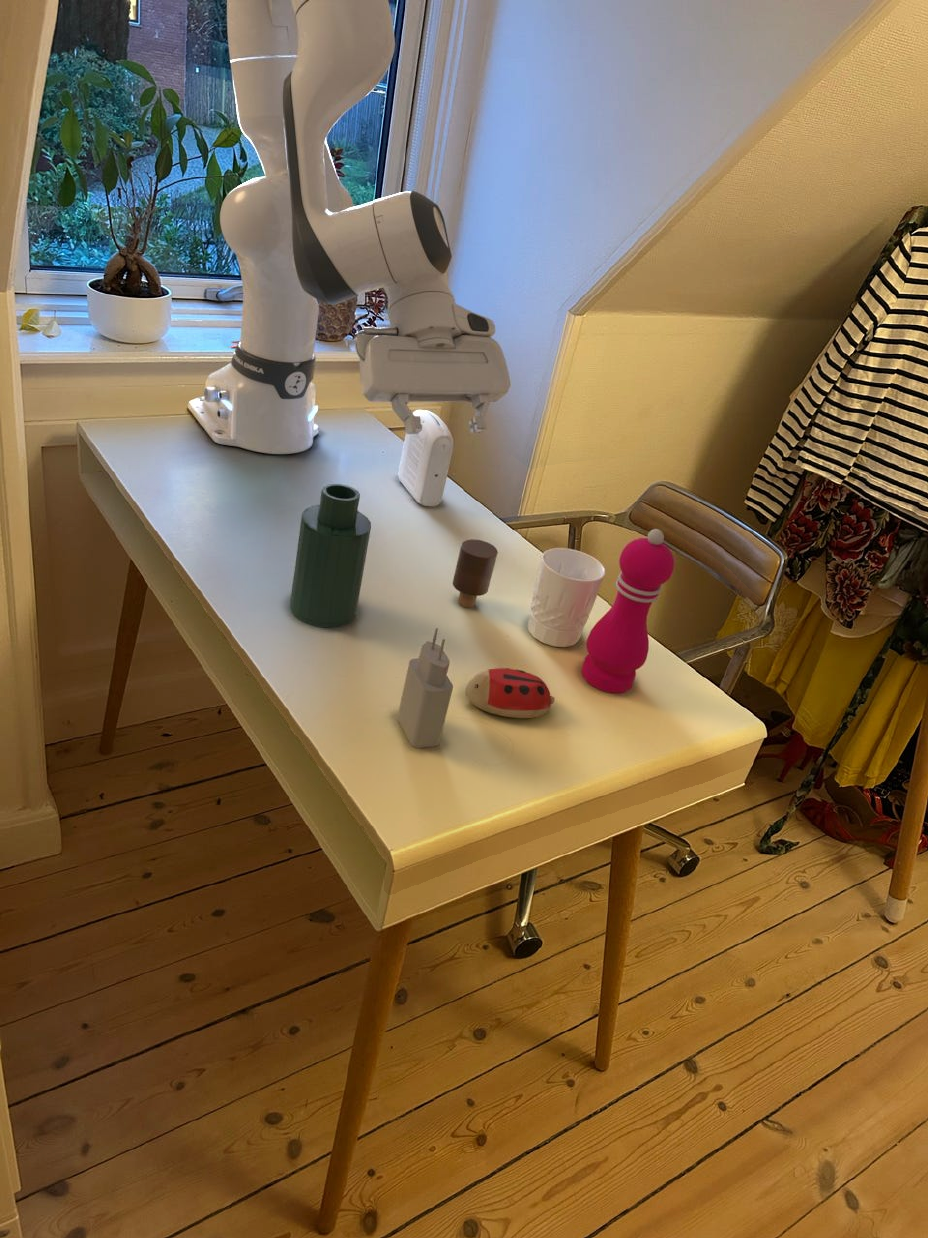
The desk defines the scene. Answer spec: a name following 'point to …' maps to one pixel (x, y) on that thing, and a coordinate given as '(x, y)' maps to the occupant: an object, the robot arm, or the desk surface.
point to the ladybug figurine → (509, 693)
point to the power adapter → (426, 696)
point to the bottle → (330, 559)
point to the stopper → (474, 570)
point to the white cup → (564, 596)
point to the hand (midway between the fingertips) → (447, 431)
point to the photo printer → (426, 459)
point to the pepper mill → (628, 615)
